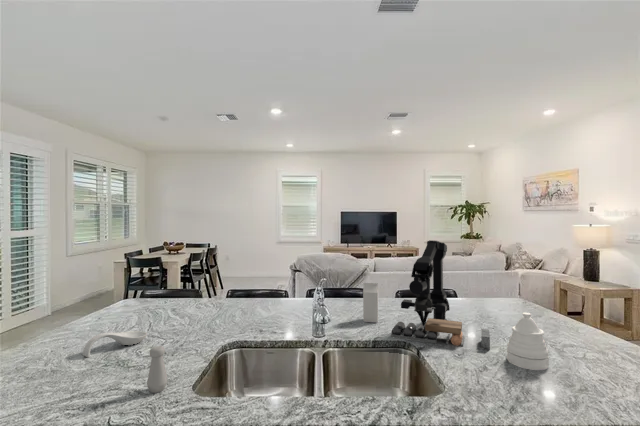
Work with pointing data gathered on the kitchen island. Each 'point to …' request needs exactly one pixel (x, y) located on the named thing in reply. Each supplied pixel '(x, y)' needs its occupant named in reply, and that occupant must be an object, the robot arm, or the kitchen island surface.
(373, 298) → the milk carton
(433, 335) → the track
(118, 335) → the spoon rest
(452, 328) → the slab
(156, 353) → the salt shaker
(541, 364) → the honey pot
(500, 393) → the kitchen island surface
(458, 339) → the roller
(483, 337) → the block
